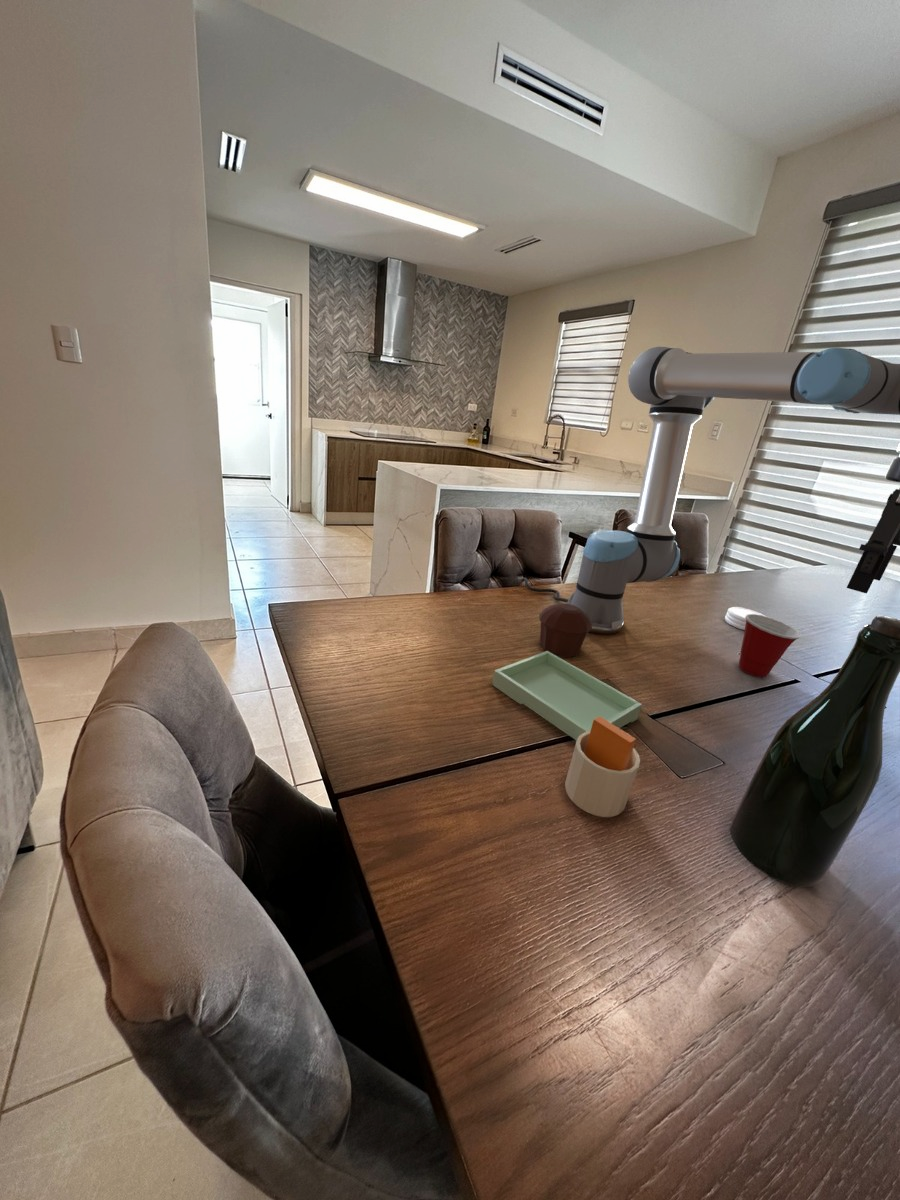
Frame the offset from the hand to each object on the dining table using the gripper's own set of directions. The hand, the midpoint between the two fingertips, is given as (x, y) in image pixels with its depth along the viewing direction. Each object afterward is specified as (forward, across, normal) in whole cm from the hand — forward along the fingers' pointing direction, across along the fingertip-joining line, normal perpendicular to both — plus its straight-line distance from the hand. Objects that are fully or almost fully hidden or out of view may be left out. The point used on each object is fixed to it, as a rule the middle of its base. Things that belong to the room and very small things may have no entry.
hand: (863, 584), depth 82 cm
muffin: (+28, -22, +43) cm, 55 cm away
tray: (+27, -39, +29) cm, 56 cm away
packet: (+27, -55, +12) cm, 62 cm away
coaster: (+28, +38, +23) cm, 52 cm away
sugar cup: (+27, -55, +12) cm, 63 cm away
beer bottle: (+27, -44, -7) cm, 52 cm away
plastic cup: (+28, +10, +12) cm, 32 cm away
